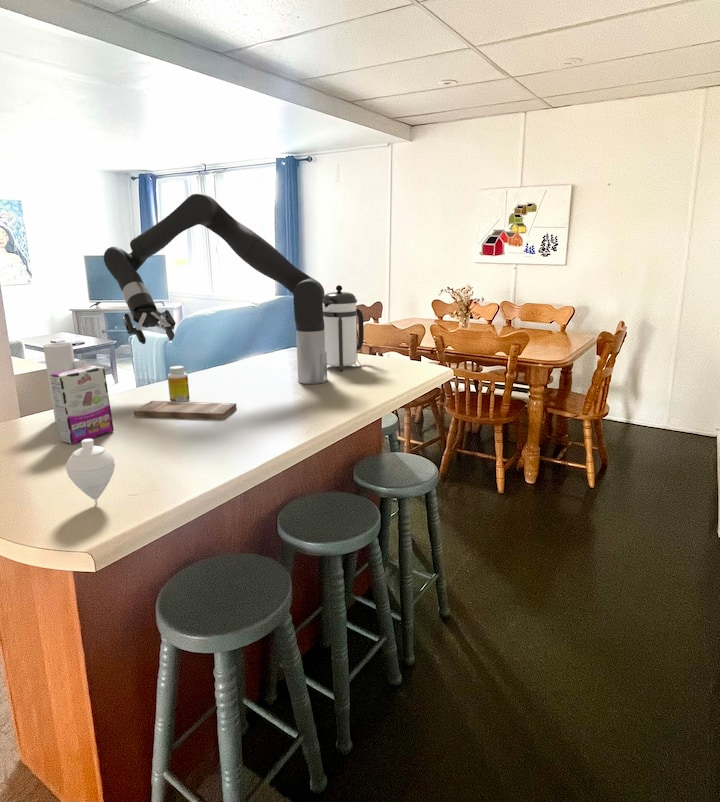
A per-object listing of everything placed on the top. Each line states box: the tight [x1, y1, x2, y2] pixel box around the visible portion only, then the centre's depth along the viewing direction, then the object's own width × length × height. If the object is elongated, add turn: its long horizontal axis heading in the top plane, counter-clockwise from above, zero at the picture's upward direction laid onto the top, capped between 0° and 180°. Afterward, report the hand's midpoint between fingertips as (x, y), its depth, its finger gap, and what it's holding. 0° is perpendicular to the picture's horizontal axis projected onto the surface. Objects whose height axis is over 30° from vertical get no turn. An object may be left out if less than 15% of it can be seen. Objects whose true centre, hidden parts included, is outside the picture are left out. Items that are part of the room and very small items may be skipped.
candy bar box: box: [49, 364, 115, 445], centre depth 134 cm, size 11×5×16 cm, turn 148°
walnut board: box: [133, 400, 238, 420], centre depth 155 cm, size 25×10×2 cm, turn 82°
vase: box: [42, 342, 87, 424], centre depth 147 cm, size 11×7×20 cm, turn 66°
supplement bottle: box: [167, 365, 190, 402], centre depth 165 cm, size 6×6×10 cm
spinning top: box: [65, 438, 116, 505], centre depth 99 cm, size 8×8×12 cm
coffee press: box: [323, 284, 365, 372], centre depth 208 cm, size 17×16×30 cm
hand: (158, 340), depth 171 cm, fingers open, 8 cm apart
